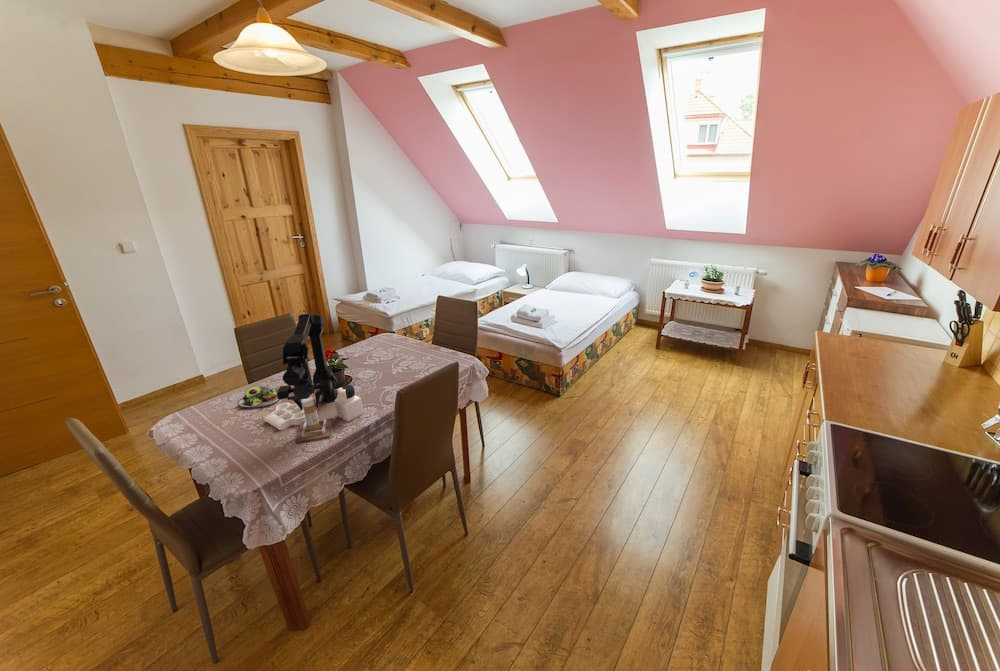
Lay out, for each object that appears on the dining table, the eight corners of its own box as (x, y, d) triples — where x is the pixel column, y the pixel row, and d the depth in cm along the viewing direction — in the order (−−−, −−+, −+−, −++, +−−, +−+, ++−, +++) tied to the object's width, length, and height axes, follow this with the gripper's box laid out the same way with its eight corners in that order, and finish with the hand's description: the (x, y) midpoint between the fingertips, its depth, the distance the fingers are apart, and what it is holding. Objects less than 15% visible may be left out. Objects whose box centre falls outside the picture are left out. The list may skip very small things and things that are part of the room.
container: (353, 407, 182) (348, 381, 177) (363, 413, 177) (359, 386, 172) (337, 415, 176) (331, 388, 171) (347, 422, 172) (342, 394, 167)
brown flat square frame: (301, 424, 171) (300, 420, 170) (332, 419, 174) (331, 414, 173) (296, 443, 159) (294, 438, 158) (329, 437, 162) (328, 432, 161)
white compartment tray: (261, 420, 175) (294, 404, 186) (284, 434, 165) (317, 417, 176) (259, 413, 174) (292, 398, 185) (282, 427, 164) (316, 410, 175)
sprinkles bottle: (317, 424, 169) (310, 395, 164) (322, 428, 166) (316, 399, 161) (306, 429, 166) (299, 400, 161) (311, 434, 163) (304, 404, 158)
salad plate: (294, 387, 201) (292, 378, 199) (281, 407, 185) (279, 397, 183) (251, 390, 199) (249, 382, 197) (235, 411, 182) (232, 402, 181)
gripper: (269, 386, 147) (279, 424, 153) (325, 378, 151) (333, 415, 157) (275, 372, 157) (285, 408, 163) (328, 365, 161) (336, 400, 167)
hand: (309, 408), depth 162 cm, fingers open, 5 cm apart
